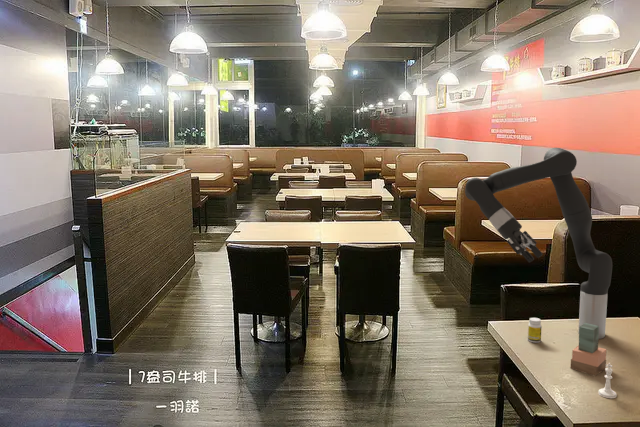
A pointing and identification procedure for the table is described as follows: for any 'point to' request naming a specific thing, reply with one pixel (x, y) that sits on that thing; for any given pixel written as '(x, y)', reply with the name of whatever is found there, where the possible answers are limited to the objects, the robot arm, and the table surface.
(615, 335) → the table surface
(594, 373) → the walnut base block
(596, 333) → the green pillar block
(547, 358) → the table surface
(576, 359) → the terracotta top block
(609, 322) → the table surface
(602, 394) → the chess piece
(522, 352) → the table surface
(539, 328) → the supplement bottle
